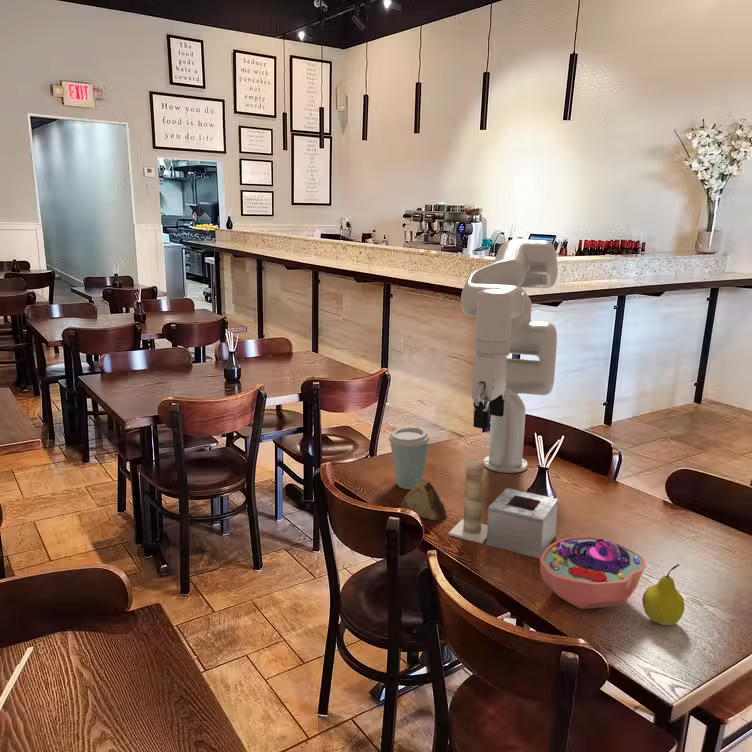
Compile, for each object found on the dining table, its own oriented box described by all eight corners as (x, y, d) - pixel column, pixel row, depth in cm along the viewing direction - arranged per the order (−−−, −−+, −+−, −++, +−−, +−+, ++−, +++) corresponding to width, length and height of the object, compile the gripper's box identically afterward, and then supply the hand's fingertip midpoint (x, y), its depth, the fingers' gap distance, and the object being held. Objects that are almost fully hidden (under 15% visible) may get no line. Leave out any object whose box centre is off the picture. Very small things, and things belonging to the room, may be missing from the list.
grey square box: (504, 523, 155) (506, 487, 153) (555, 535, 150) (558, 498, 147) (486, 544, 145) (488, 507, 143) (540, 558, 139) (543, 519, 137)
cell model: (518, 585, 129) (521, 532, 127) (601, 567, 136) (606, 517, 134) (571, 635, 114) (577, 576, 111) (662, 612, 121) (669, 556, 118)
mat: (462, 521, 156) (462, 519, 156) (494, 529, 152) (494, 526, 152) (448, 535, 149) (448, 532, 149) (482, 543, 146) (482, 541, 145)
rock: (388, 502, 161) (410, 512, 152) (404, 471, 162) (427, 479, 154) (418, 520, 166) (442, 531, 157) (434, 490, 167) (458, 499, 159)
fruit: (633, 621, 118) (640, 560, 115) (650, 605, 123) (657, 547, 120) (672, 638, 113) (680, 575, 111) (688, 621, 118) (696, 561, 115)
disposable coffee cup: (413, 496, 170) (414, 441, 166) (380, 485, 176) (380, 432, 173) (435, 483, 178) (437, 430, 175) (402, 474, 184) (403, 422, 181)
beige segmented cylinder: (467, 524, 153) (470, 459, 150) (483, 528, 151) (486, 462, 148) (460, 531, 150) (463, 465, 146) (477, 535, 148) (480, 468, 144)
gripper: (490, 338, 152) (486, 408, 157) (460, 352, 138) (457, 429, 142) (521, 341, 148) (517, 413, 153) (494, 356, 134) (490, 436, 138)
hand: (488, 421), depth 148 cm, fingers open, 9 cm apart
